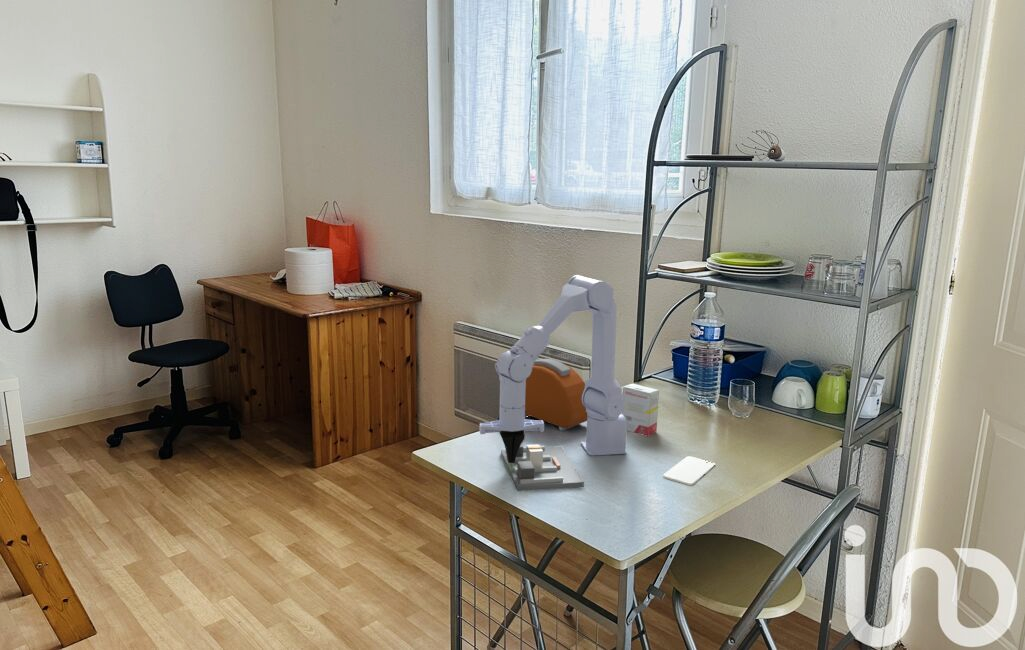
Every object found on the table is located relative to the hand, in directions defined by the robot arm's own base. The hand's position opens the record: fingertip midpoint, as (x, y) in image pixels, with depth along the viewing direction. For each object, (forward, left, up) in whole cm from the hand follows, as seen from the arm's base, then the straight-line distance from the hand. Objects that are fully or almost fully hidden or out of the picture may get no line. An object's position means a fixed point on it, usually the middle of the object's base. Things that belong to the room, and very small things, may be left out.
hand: (511, 461), depth 173 cm
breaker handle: (-5, 0, -1) cm, 6 cm away
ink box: (-38, -21, -3) cm, 44 cm away
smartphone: (-41, +5, -3) cm, 42 cm away
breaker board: (-7, 0, -3) cm, 8 cm away
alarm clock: (-16, -32, -3) cm, 36 cm away
